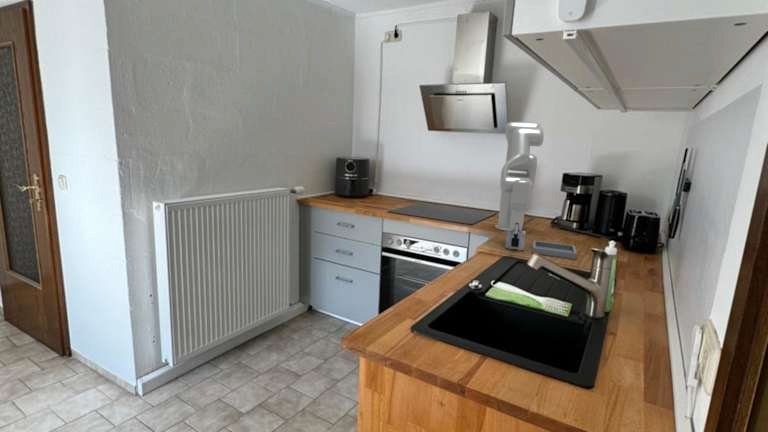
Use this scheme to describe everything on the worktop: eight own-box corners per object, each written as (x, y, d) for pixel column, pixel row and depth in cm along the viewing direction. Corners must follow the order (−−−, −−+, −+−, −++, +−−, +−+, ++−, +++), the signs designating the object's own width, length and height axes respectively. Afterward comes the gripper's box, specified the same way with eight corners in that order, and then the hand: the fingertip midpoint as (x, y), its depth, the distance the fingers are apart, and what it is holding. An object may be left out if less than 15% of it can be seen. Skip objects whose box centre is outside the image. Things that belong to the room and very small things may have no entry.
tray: (532, 246, 197) (533, 240, 196) (573, 251, 191) (574, 245, 190) (532, 254, 184) (533, 248, 183) (576, 259, 178) (577, 253, 177)
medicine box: (523, 248, 191) (525, 230, 190) (522, 251, 187) (524, 232, 186) (506, 246, 195) (508, 228, 193) (505, 248, 191) (507, 230, 189)
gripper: (511, 203, 196) (507, 239, 200) (509, 209, 180) (505, 248, 184) (528, 204, 193) (523, 241, 197) (527, 210, 178) (522, 251, 182)
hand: (514, 244), depth 191 cm, fingers closed on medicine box, 4 cm apart
